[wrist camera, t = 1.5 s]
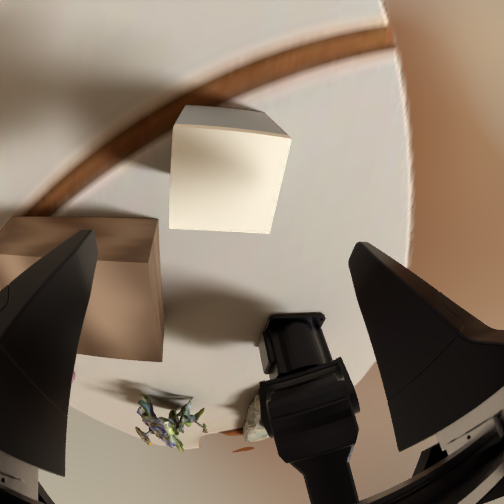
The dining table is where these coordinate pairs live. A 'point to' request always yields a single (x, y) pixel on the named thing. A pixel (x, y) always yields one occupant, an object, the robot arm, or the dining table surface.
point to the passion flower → (166, 423)
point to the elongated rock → (254, 423)
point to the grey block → (226, 169)
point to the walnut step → (102, 279)
